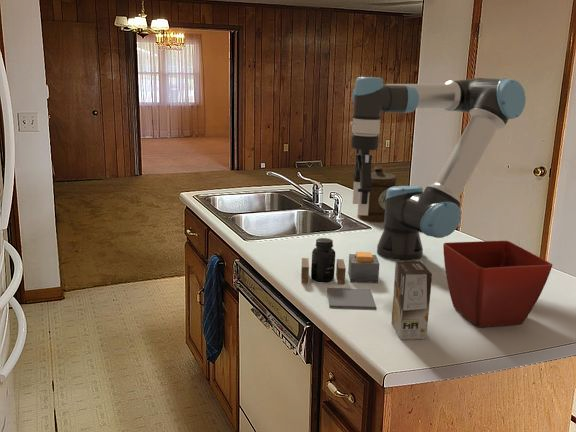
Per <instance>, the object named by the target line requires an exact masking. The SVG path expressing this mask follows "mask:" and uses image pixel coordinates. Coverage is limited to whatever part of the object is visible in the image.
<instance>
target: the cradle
mask: <svg viewBox="0 0 576 432" xmlns="http://www.w3.org/2000/svg"><path fill="white" fill-rule="evenodd" d="M309 259H310V258H309V257H302V258H301V270H300V271H301V274H300V275H301V276H300V277H301V280H300V281H301V283H300V284H302V285H309V277H310V276H309V275H310V260H309ZM335 268H336V269H335V277H336V282H337V285H339V286H345V285H346V272H347V271H346V264H345V260H344V258H336V264H335Z"/></svg>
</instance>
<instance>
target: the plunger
mask: <svg viewBox="0 0 576 432" xmlns="http://www.w3.org/2000/svg"><path fill="white" fill-rule="evenodd" d="M355 254H356V261H359V262H372V261H373V256H372V255H373V254H372V252H371V251H356V252H355Z"/></svg>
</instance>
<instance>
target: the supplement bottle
mask: <svg viewBox="0 0 576 432" xmlns="http://www.w3.org/2000/svg"><path fill="white" fill-rule="evenodd" d="M333 242H334V240H332V238H331V239H330V238H326V237H318V238H316V240H315V247H314V248H313V249H312V251H311V267H310V268H311V269H310V270H311V271H310V278H311V280H312V281H313V282H316V283H320V284H327V283H331V282H333V281H334V280H335V272H336V269H335V268H336V251H335V250H334V248H333V246H334V245H333V244H334V243H333Z"/></svg>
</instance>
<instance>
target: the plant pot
mask: <svg viewBox="0 0 576 432" xmlns="http://www.w3.org/2000/svg"><path fill="white" fill-rule="evenodd" d="M442 245H443V248H442V249H443V260H444V270H445V277H446V281H447V287H448V290H449V296H450V299H451V303H452V306H453V308H454V309H455V310H457V311H458V312H459V313H460V314H461V315H462V316H463V317H464V318H466V319H467V320H468V321H469V322H470V323H471V324H473V325H474V326H475V327H478V328H486V327H488V328H490V327H503V326H504V327H505V326H517V325H523V324H524V322H525V321H526V319H527V318H528V317H529V315H530V313H531V311H532V310H533V309H534V307H535V305H536V304H537V302H538V300H539V298H540V296H541V294H542V292H543V290H544V288H545V286H546V283H547V281H548V278H549V276H550V273H551V271H552V268H553V263H551V262H549V261H547V260H546V259H543V258H541V257H540V256H538V255H536V254H534V253H532V252H530V251H528V250H527V249H524V248H522V247H521V246H519V245H517V244H515V243H513V242H511V241H509V240H486V241H485V240H484V241H483V240H482V241H457V242H456V241H454V242H452V241H451V242H444V243H443V244H442Z"/></svg>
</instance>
